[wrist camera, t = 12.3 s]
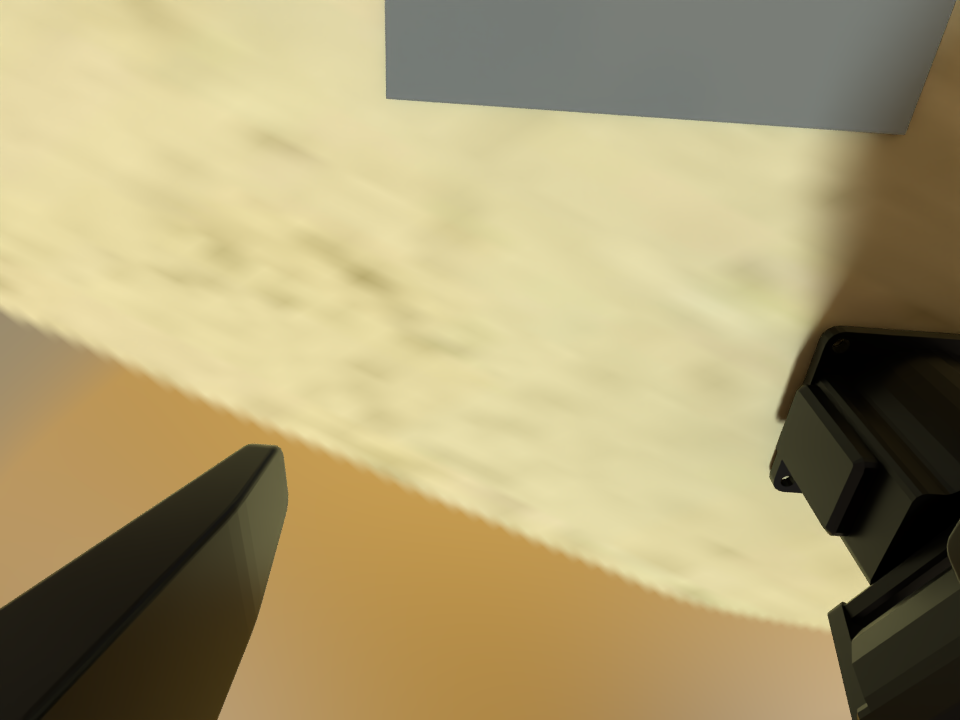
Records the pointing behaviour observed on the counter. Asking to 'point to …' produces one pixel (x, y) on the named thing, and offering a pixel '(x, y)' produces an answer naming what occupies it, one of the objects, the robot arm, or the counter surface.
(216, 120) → the counter surface
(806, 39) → the tile
